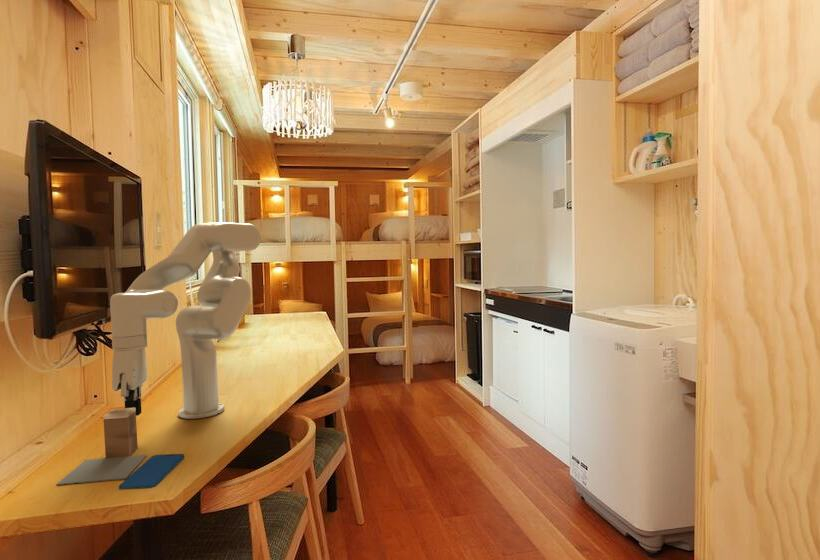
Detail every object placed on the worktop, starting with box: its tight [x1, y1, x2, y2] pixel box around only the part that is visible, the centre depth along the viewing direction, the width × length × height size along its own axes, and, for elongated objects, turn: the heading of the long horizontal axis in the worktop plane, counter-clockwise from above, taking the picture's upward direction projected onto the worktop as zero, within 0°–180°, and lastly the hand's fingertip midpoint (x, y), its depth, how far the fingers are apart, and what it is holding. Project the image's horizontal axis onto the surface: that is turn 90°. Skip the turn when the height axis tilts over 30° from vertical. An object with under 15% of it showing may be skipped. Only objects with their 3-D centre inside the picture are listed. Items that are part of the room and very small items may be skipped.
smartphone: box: [118, 453, 185, 490], centre depth 104 cm, size 7×1×15 cm
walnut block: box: [102, 407, 139, 458], centre depth 114 cm, size 5×5×10 cm
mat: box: [56, 454, 148, 486], centre depth 105 cm, size 12×13×1 cm
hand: (133, 414), depth 121 cm, fingers closed
